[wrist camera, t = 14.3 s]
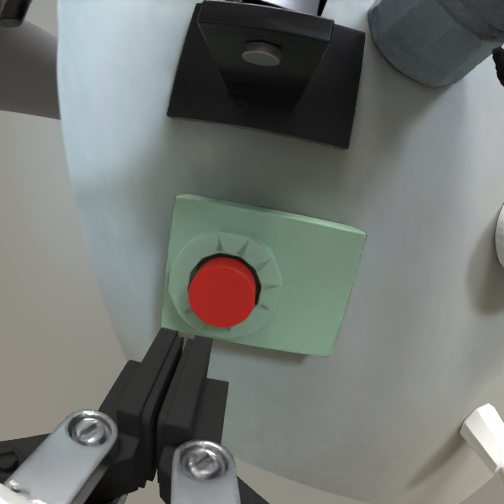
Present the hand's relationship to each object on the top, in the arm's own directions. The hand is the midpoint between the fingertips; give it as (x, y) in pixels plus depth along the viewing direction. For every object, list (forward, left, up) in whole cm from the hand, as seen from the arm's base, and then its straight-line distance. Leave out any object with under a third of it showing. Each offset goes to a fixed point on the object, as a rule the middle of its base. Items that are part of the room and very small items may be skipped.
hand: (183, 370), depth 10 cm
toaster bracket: (0, +14, -13) cm, 19 cm away
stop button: (0, 0, -9) cm, 9 cm away
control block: (+2, 0, -13) cm, 13 cm away
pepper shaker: (+32, -14, -13) cm, 38 cm away
